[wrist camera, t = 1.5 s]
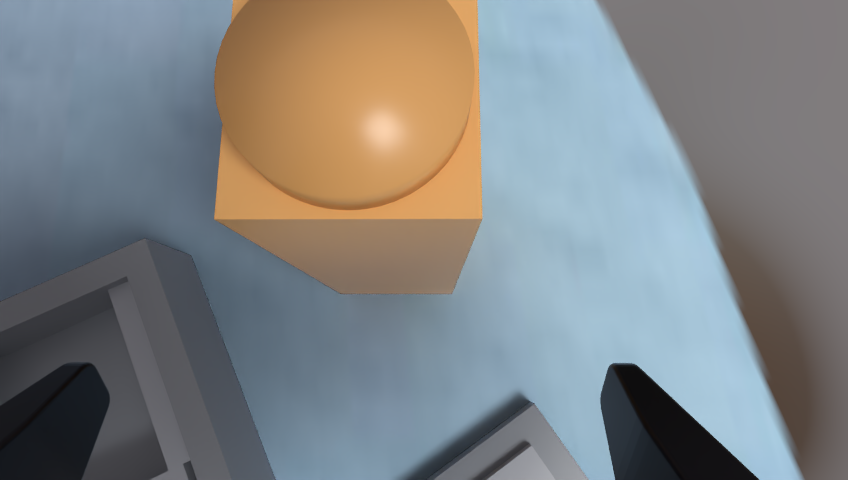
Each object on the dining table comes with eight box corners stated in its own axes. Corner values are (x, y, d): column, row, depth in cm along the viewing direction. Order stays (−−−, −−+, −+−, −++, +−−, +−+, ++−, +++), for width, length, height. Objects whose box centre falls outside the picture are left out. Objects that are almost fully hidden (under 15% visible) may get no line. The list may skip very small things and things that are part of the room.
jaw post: (451, 294, 21) (487, 205, 8) (341, 293, 21) (192, 206, 8) (450, 187, 22) (480, -51, 9) (344, 187, 22) (217, -49, 9)
